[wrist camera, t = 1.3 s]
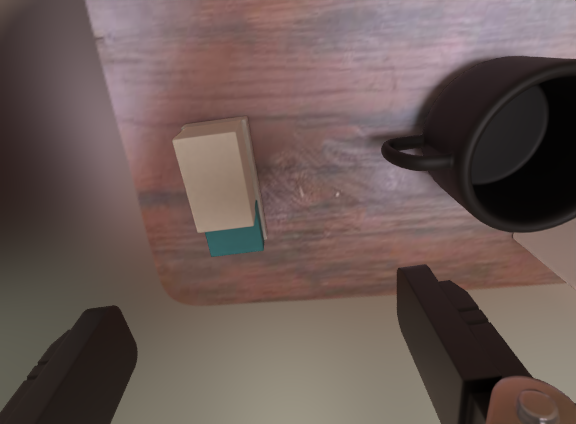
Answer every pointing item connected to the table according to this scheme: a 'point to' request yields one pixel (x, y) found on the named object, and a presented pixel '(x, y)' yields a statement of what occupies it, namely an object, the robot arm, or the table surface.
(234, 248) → the teal-ended white block
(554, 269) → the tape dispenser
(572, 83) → the mug
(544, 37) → the table surface
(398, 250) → the table surface
